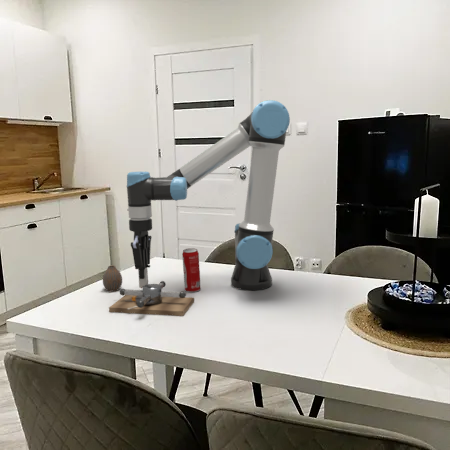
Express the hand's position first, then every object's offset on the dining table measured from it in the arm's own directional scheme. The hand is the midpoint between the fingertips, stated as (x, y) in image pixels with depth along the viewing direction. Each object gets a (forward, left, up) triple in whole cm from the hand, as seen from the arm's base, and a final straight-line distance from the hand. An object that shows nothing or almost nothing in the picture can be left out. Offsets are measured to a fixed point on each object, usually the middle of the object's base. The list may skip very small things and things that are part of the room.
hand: (143, 286), depth 154 cm
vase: (+15, -8, -4) cm, 17 cm away
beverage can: (-14, -11, -4) cm, 18 cm away
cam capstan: (-6, +8, -2) cm, 10 cm away
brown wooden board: (-6, +8, -4) cm, 11 cm away
